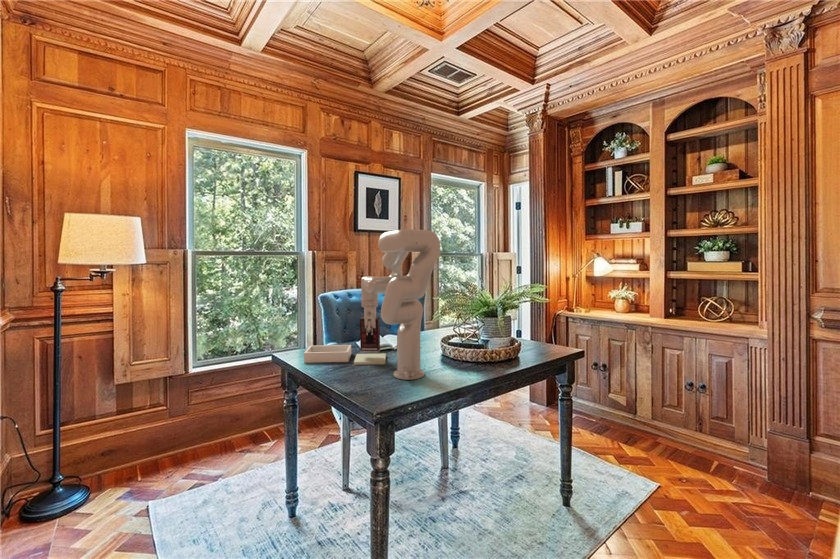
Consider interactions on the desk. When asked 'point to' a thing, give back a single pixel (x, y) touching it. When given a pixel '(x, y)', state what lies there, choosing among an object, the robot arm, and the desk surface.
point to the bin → (327, 353)
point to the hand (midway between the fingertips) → (370, 341)
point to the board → (370, 359)
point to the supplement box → (376, 337)
